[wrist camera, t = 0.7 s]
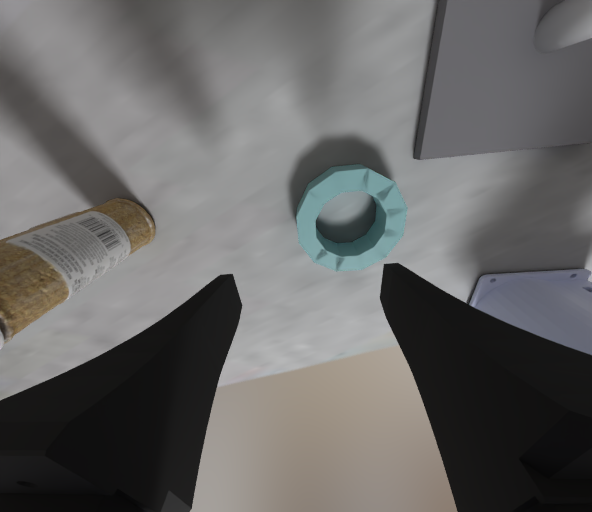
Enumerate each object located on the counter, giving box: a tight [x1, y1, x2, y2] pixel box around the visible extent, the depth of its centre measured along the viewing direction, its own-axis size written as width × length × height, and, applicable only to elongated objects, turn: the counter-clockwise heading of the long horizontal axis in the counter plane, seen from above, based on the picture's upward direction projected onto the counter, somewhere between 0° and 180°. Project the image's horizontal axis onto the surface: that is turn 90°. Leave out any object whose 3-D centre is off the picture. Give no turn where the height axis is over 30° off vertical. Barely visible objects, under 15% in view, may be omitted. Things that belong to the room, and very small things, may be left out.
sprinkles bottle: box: [0, 198, 155, 350], centre depth 13 cm, size 5×5×14 cm
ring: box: [296, 164, 407, 271], centre depth 17 cm, size 8×8×2 cm
